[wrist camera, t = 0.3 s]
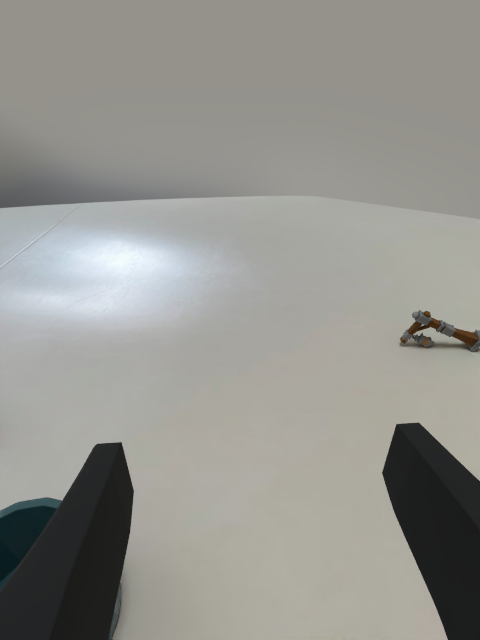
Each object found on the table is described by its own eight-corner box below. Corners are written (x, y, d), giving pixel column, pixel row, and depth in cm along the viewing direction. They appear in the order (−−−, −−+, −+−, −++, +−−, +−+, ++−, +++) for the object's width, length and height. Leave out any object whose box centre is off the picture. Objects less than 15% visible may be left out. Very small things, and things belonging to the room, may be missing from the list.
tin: (112, 701, 24) (80, 671, 20) (-68, 737, 23) (-133, 713, 19) (127, 529, 32) (106, 486, 28) (-6, 552, 31) (-44, 512, 27)
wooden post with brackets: (392, 332, 47) (415, 303, 44) (454, 356, 47) (480, 328, 45) (394, 343, 45) (419, 312, 42) (458, 367, 46) (486, 339, 43)
